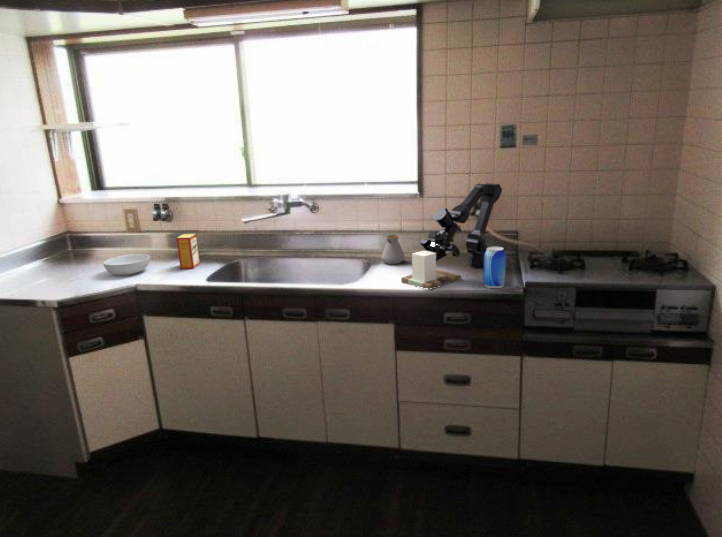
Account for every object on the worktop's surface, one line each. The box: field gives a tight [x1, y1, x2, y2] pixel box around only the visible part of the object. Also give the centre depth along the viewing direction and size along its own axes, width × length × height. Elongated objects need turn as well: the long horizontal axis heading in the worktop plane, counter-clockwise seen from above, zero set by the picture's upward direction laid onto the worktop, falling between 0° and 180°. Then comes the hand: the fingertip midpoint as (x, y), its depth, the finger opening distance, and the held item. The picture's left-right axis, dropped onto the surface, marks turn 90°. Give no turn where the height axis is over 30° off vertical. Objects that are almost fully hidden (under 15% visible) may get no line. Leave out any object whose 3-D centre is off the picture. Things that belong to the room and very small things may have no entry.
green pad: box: [407, 279, 437, 288], centre depth 224 cm, size 9×8×2 cm
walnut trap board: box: [400, 268, 462, 289], centre depth 227 cm, size 20×16×2 cm
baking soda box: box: [176, 233, 201, 270], centre depth 264 cm, size 10×6×16 cm
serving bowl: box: [102, 253, 151, 276], centre depth 259 cm, size 21×21×7 cm
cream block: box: [411, 250, 437, 282], centre depth 223 cm, size 7×7×11 cm
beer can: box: [483, 246, 507, 289], centre depth 215 cm, size 8×8×16 cm
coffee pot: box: [381, 234, 406, 265], centre depth 253 cm, size 21×12×15 cm, turn 168°
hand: (430, 263), depth 225 cm, fingers closed, pressing on cream block
